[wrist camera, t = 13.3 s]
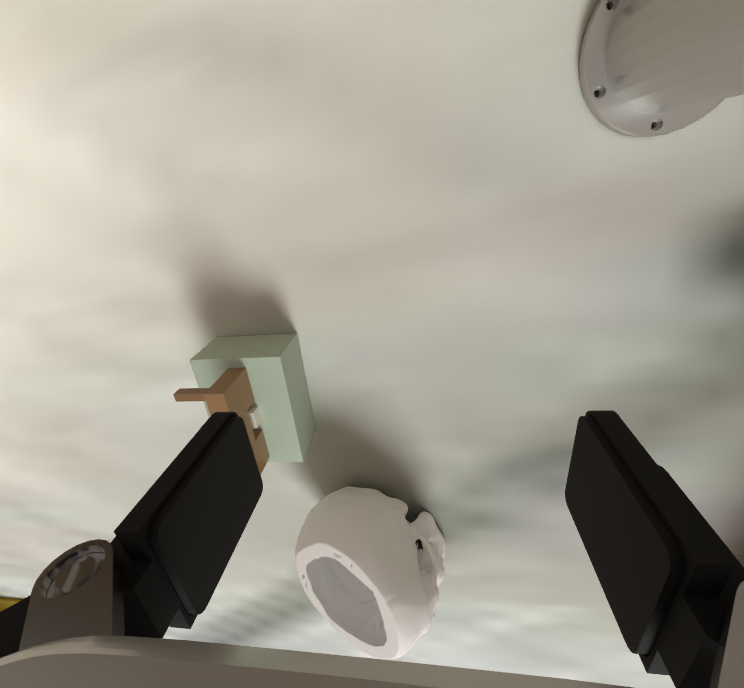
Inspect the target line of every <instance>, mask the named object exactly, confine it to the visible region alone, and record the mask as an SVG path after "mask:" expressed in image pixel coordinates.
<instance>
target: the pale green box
mask: <svg viewBox="0 0 744 688" xmlns="http://www.w3.org/2000/svg"><path fill="white" fill-rule="evenodd" d="M190 363H191V366H192V369H193V372H194V375H195V378H196V381H197V384H198V387H199V388H210V387H211V386H212V385H213V384H214V383H215V382H216V380H217V379H218V378H219V377H220V376H221V375H222V374H223V373H224V372H225V371H226V370H227V369H228V368H246V370H247V373H248V377H249V381H250V385H251V388H252V392H253V396H254V399H255V400H254V401H253V403H252V404H251V406H250V407H249V408H248V410H247V412H248V416H249V419H250V423H251V426H252V429H263V433H264V437H265V440H266V444H267V448H268V452H269V455H270V457H269V459H268V461H267V462H304V459H305V456H306V454H307V451H308V449H309V446H310V443H311V441H312V438H313V436H314V433H315V430H316V429H315V424H314V419H313V413H312V408H311V403H310V398H309V393H308V388H307V382H306V377H305V372H304V367H303V362H302V356H301V351H300V346H299V341H298V336H297V333H295V334H272V335H249V336H226V337H216V338H215V339H214V340H213V341H212V342H210V343H209V344H208V345H207V346H206V347H204V348H203V349H202V350H201V351H200V352H199V353H197V354H196V355H195V356H194V357H193V358H191V359H190ZM204 404H205V407H206V410H207V413H208V416H209V418H210V417H211V416H210V413H209V410H208V407H207V404H206V401H204Z"/></svg>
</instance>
